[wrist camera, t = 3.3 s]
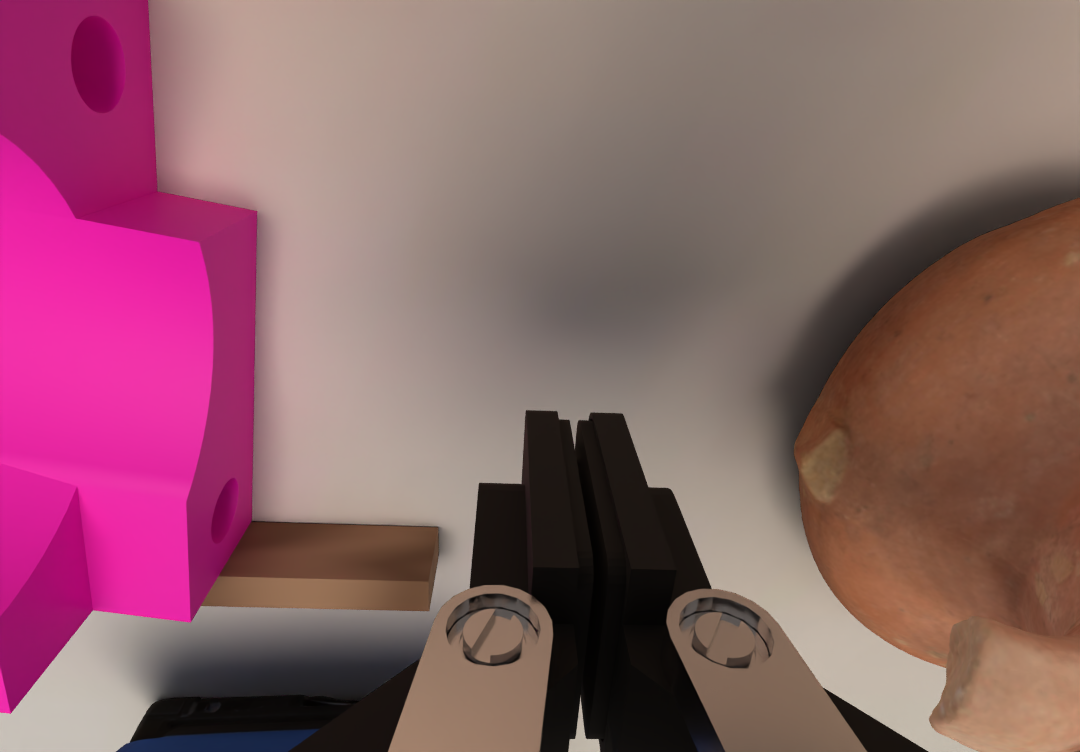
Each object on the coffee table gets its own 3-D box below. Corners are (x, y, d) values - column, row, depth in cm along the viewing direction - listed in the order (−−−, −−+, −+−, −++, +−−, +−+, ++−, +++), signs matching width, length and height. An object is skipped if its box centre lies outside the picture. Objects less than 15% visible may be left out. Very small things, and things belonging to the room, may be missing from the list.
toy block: (254, 516, 21) (128, 725, 14) (55, 487, 20) (-176, 693, 14) (264, 11, 15) (48, -37, 8) (-24, -56, 14) (-525, -172, 7)
